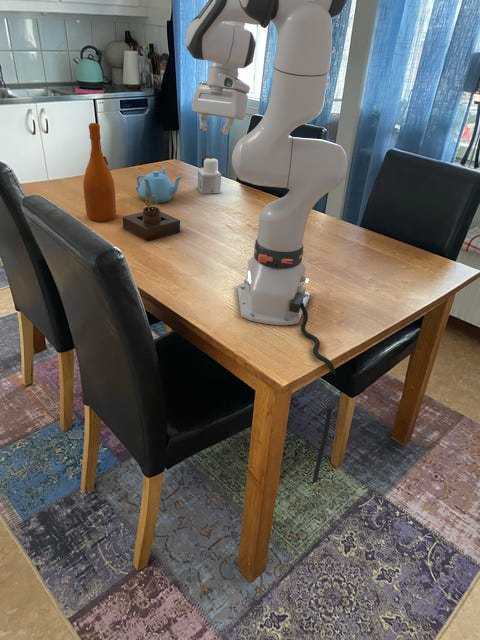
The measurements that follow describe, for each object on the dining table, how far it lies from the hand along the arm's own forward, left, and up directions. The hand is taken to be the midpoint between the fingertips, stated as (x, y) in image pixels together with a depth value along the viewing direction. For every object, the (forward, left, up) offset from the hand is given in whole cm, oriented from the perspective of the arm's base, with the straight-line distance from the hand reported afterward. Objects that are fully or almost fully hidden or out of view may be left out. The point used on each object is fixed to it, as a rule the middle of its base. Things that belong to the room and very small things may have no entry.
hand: (213, 132), depth 146 cm
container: (+41, +8, -31) cm, 52 cm away
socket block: (-7, +18, -31) cm, 36 cm away
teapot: (+24, +24, -31) cm, 46 cm away
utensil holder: (-6, +18, -31) cm, 36 cm away
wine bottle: (-1, +37, -31) cm, 48 cm away
